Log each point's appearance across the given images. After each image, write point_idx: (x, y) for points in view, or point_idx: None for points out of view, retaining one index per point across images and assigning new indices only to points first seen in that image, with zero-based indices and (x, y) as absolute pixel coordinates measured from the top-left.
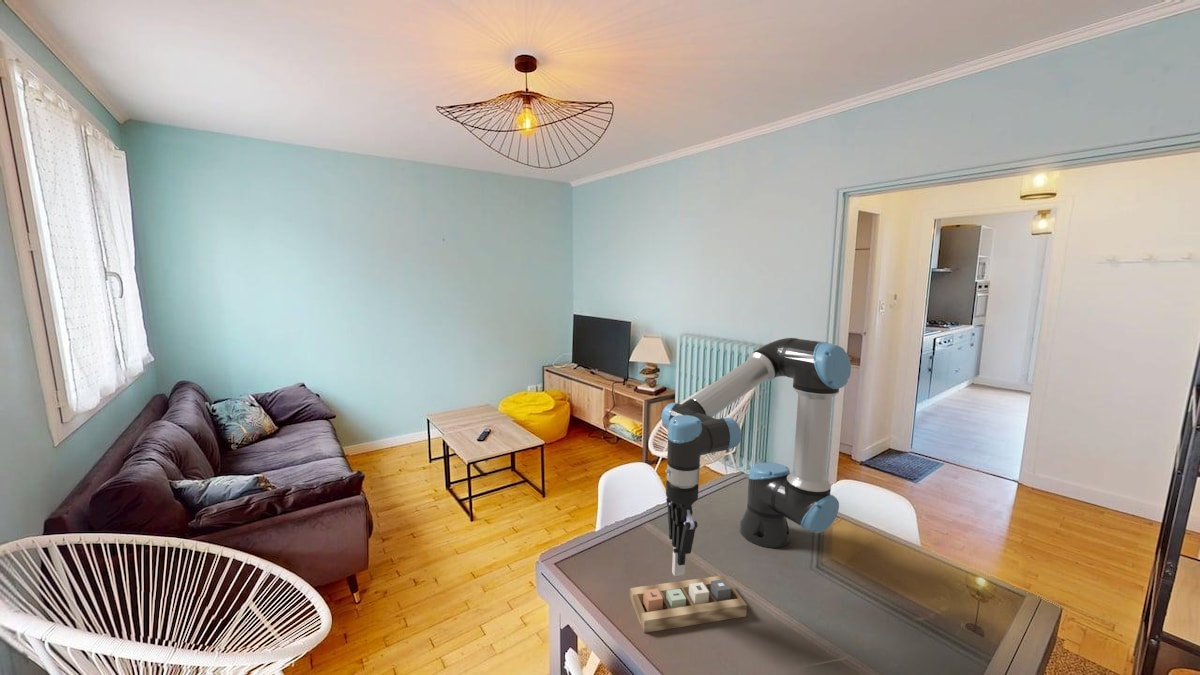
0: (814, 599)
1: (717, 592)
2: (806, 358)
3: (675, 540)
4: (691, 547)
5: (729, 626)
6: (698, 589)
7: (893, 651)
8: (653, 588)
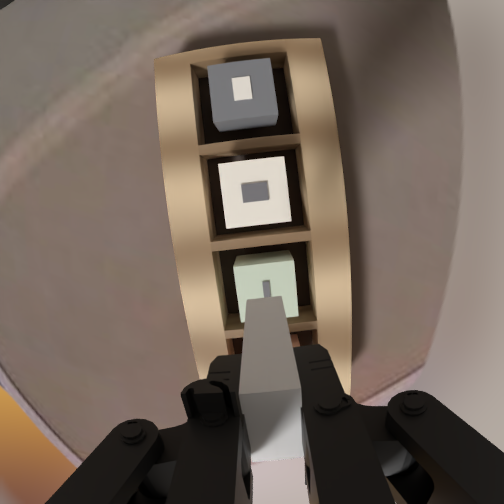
0: None
1: (274, 117)
2: None
3: (249, 500)
4: (477, 435)
5: (349, 121)
6: (267, 199)
7: None
8: (211, 352)
